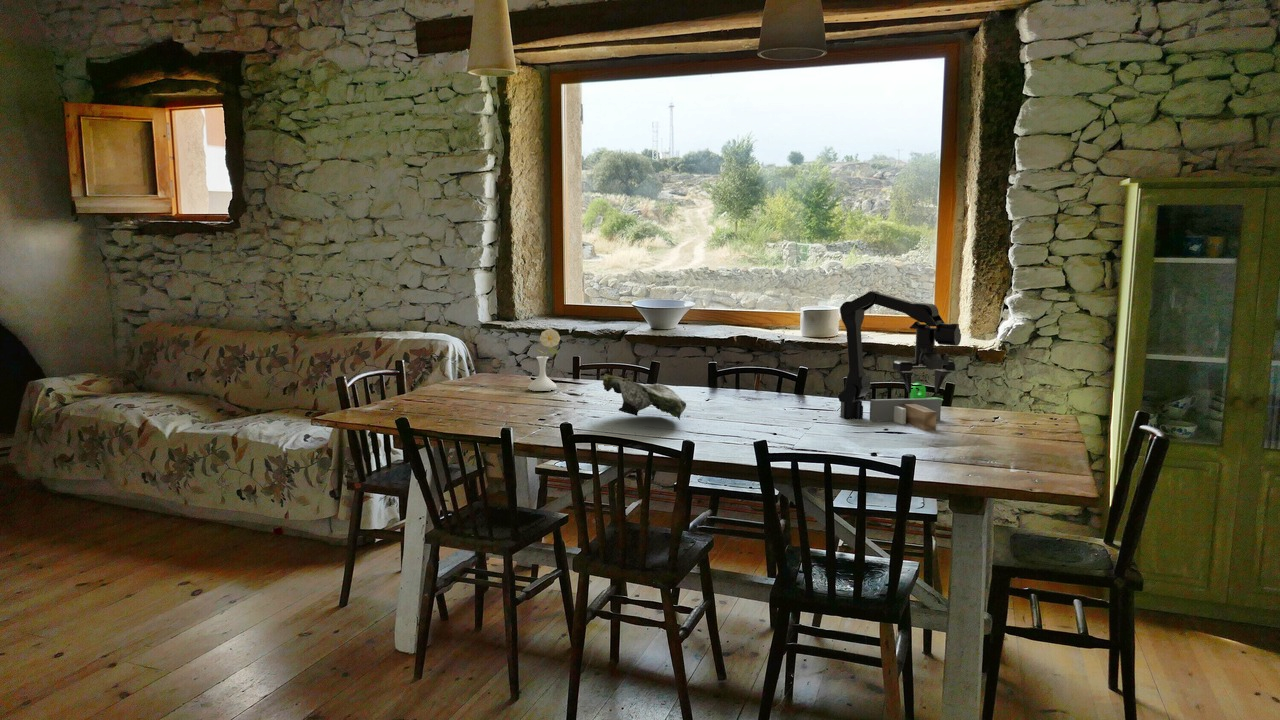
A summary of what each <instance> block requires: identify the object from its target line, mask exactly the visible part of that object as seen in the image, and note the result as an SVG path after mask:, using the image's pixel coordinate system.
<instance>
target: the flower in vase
mask: <svg viewBox="0 0 1280 720" xmlns="http://www.w3.org/2000/svg"><path fill="white" fill-rule="evenodd" d="M560 340H561V336H560V334H559V332H558V331H557V330H554V329H551V328H549V329H544V331H542V332H541V334H540V336H539V341H540V343H541V345H542V346H544V347H546V348H547V347H548V348H547V350H546V352H544V351H543V350H541V349H538V348H535V349H536V351H538V352H539V353H542V354H544V355H543V356H536V360H537V361H538V366H539V372H538V373H539V374H538V376H537V377H536V378H535V379H534V380H533V381H532V382H531V383H530V384H529V385H528V387H527V388H528V390H529V391H531V390H532V392H535V391H549V392H552V391H551V390H553V391H555V390H557V388H558V386H557V384H556V383H555V382H554V381H552V380H551V379H550V378H549V377H548V376H547V373H546V366H547V365H546V364H547V362H548V359H549V358H550V357H549V356H546V355H547V354H548V352H549V353H550V355H555V354H559V353H560V352H559V350H558V349H556V348H555V347H557V346H558V345H559V342H560Z"/></svg>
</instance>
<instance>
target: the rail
mask: <svg viewBox="0 0 1280 720" xmlns="http://www.w3.org/2000/svg"><path fill="white" fill-rule="evenodd" d="M903 408H905V409H906V424H908V425H910V426H913V427H914V428H917V429H919V430H922V431H937V420H936V416H937V412H936V411H933V410H930V409H928V408H925V407H923V406H920V405H917V404H903Z"/></svg>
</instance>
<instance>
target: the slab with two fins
mask: <svg viewBox="0 0 1280 720" xmlns="http://www.w3.org/2000/svg"><path fill="white" fill-rule="evenodd" d="M939 398H940V397H936V398H932V397H926V398H920V399H910V398H884V399H883V398H878V399H874V398H873V399H869V402H870V403H869V421H870V422H895V423H898V424H899V425H906V424H907V423H906V409H905V408H903V404H917V405H920V406H923V407H925V408H928V409H930V410H933V411H936V412H937V416H936V421H940V420H941V414H942V413H941V412H942V401H941V399H942V398H941V399H939Z"/></svg>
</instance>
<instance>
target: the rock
mask: <svg viewBox="0 0 1280 720" xmlns="http://www.w3.org/2000/svg"><path fill="white" fill-rule="evenodd" d="M602 386H603V387H604V388H603V390H605V391H606V392H609V391H611V390H612V389H613V391H614V392H615V393H616V394H621V397H622V406H621V407H618V408H619V409H618V411H619V412H622V413H625V414H628V415H633V416H636V417H637V416H638V413H639V411H642V410H645V409H646V408H649V407H650V406H653V407H655V409H656V410H659V411H660V412H662V413H667V414H670V415H671V416H672V417H674V418H677V419H678V420H679V421H680V420H681V415H682V414H683V412H684V411H685V410H686V407H687V402H686V401H684V400H683V399H682V398H681V397H680V396H679V395H678V394H677V393H676V392H675V391H674V390H673V389H671V388H670V387H668V386H666V385H664V384H663V383H662V384H661V383H653V384H641V383H639V382H638V383H637V382H635V381H633V379H632V378H631V377H627V378H626V377H624V378H623V377H620V376H617V375H611V374H608V373H604V375H603V381H602Z"/></svg>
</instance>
